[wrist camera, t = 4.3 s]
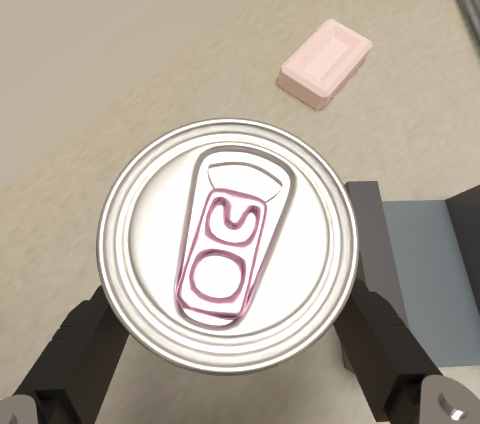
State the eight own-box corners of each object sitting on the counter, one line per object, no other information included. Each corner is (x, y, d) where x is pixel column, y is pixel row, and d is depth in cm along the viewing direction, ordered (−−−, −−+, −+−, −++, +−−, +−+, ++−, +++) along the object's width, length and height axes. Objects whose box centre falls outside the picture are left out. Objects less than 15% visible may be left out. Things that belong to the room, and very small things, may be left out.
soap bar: (364, 61, 28) (376, 40, 25) (318, 115, 25) (327, 96, 23) (322, 36, 28) (330, 13, 26) (274, 86, 26) (278, 66, 24)
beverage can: (180, 306, 19) (27, 339, 5) (204, 230, 21) (146, 86, 6) (259, 327, 19) (354, 433, 4) (275, 248, 20) (380, 141, 6)
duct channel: (507, 359, 19) (602, 381, 14) (344, 367, 18) (385, 393, 13) (457, 203, 22) (519, 178, 18) (322, 206, 22) (347, 181, 17)
